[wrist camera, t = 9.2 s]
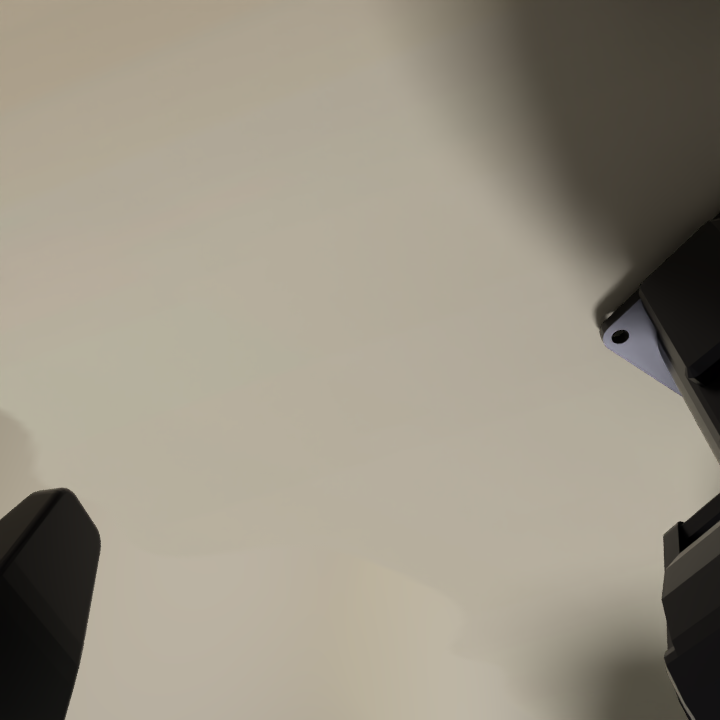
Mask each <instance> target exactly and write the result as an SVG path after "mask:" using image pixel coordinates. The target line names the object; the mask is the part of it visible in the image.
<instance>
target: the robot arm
mask: <svg viewBox="0 0 720 720" xmlns="http://www.w3.org/2000/svg"><path fill="white" fill-rule="evenodd" d="M618 330H625V331H624V333H623V334H621V335H620V336H615V337H614V336H612V335H613V333H614V332H616V331H618ZM600 336H601V338H602V341H603V343H604V345H605V346H606V347H607V348H608V349H610V350H611V351H613V352H614V353H616V354H617V355H619V356H621V357H622V358H624V359H625V360H627V361H628V362H630V363H631V364H633V365H634V366H636V367H637V368H639V369H641V370H642V371H644V372H645V373H647V374H648V375H650V376H651V377H653V378H654V379H656V380H657V381H659V382H660V383H662V384H664V385H665V386H667V387H668V388H670V389H671V390H673V391H674V392H676V393H677V394H679V395H680V396H682V397H683V398H684V400H685V402H686V404H687V406H688V408H689V409H690V411H691V413H692V415H693V417H694V419H695V421H696V422H697V424H698V426H699V428H700V430H701V432H702V433H703V435H704V437H705V439H706V441H707V443H708V444H709V446H710V448H711V450H712V452H713V454H714V455H715V457H716V459H717V461H718V463H719V465H720V213H719V214H718V215H717V216H716V217H715V218H714V219H713V220H711V221H708V222H706V223H705V224H704V225H703V226H702V227H701V228H700V229H699V230H698V231H697V232H696V233H695V234H694V235H693V236H692V237H690V238H689V239H688V240H687V241H686V242H685V243H684V244H683V245H682V246H681V247H680V248H679V249H678V250H677V251H676V252H675V253H674V254H672V255H671V256H670V257H669V258H668V259H667V260H666V261H665V262H664V263H663V264H662V265H661V266H660V267H659V268H658V269H657V270H655V271H654V272H653V273H652V274H651V275H650V276H649V277H648V278H647V279H646V280H645V281H644V282H643V283H642V284H641V285H640V289H638V290H637V291H636V292H635V293H634V294H633V295H632V296H631V297H630V298H629V299H628V300H627V301H626V302H625V303H624V304H622V305H621V306H620V307H619V308H618V309H617V310H616V311H615V312H614V313H613V314H612V315H611V316H610V317H609V318H608V319H607V320H605V321H604V323H603V324H602V325H601V328H600ZM663 542H664V567H665V575H664V583H663V592H662V603H663V607H664V612H665V616H666V620H667V644H668V650H667V651H666V652H665V655H664V660H665V666H666V671H667V674H668V676H669V678H670V680H671V682H672V684H673V686H674V688H675V691H676V694H677V697H678V700H679V702H680V704H681V706H682V708H683V710H684V711H685V713H686V715H687V717H688V719H689V720H720V493H719V494H718V495H717V496H715V497H714V498H713V499H712V500H711V501H709V502H708V503H707V504H706V505H705V506H703V507H702V508H701V509H700V510H699V511H698V512H696V513H695V514H694V515H693V516H692V517H690V518H689V519H688V520H687V521H686V522H685V523H684V522H681V521H680V522H678V523H677V524H675V525H674V526H673V527H672V528H671V529H670V530H668V531H667V532H666V533H665V534H664V536H663ZM100 548H101V540H100V535H99V532H98V529H97V527H96V526H95V524H94V523H93V521H92V520H91V518H90V517H89V515H88V514H87V512H86V511H85V509H84V507H83V506H82V504H81V503H80V501H79V500H78V498H77V497H76V495H75V494H74V493H73V492H72V491H70V490H69V489H67V488H56V489H48V490H41V491H37V492H34V493H32V494H30V495H29V496H28V497H27V498H26V499H24V500H23V501H22V502H21V503H20V504H18V505H17V506H16V507H15V508H14V509H12V510H11V511H10V512H9V513H8V514H7V515H5V516H4V517H3V518H2V519H1V520H0V720H65V717H66V713H67V710H68V706H69V702H70V699H71V695H72V692H73V689H74V685H75V680H76V676H77V673H78V669H79V665H80V660H81V655H82V650H83V646H84V640H85V634H86V628H87V623H88V618H89V612H90V606H91V601H92V595H93V589H94V584H95V578H96V572H97V567H98V561H99V556H100Z"/></svg>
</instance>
